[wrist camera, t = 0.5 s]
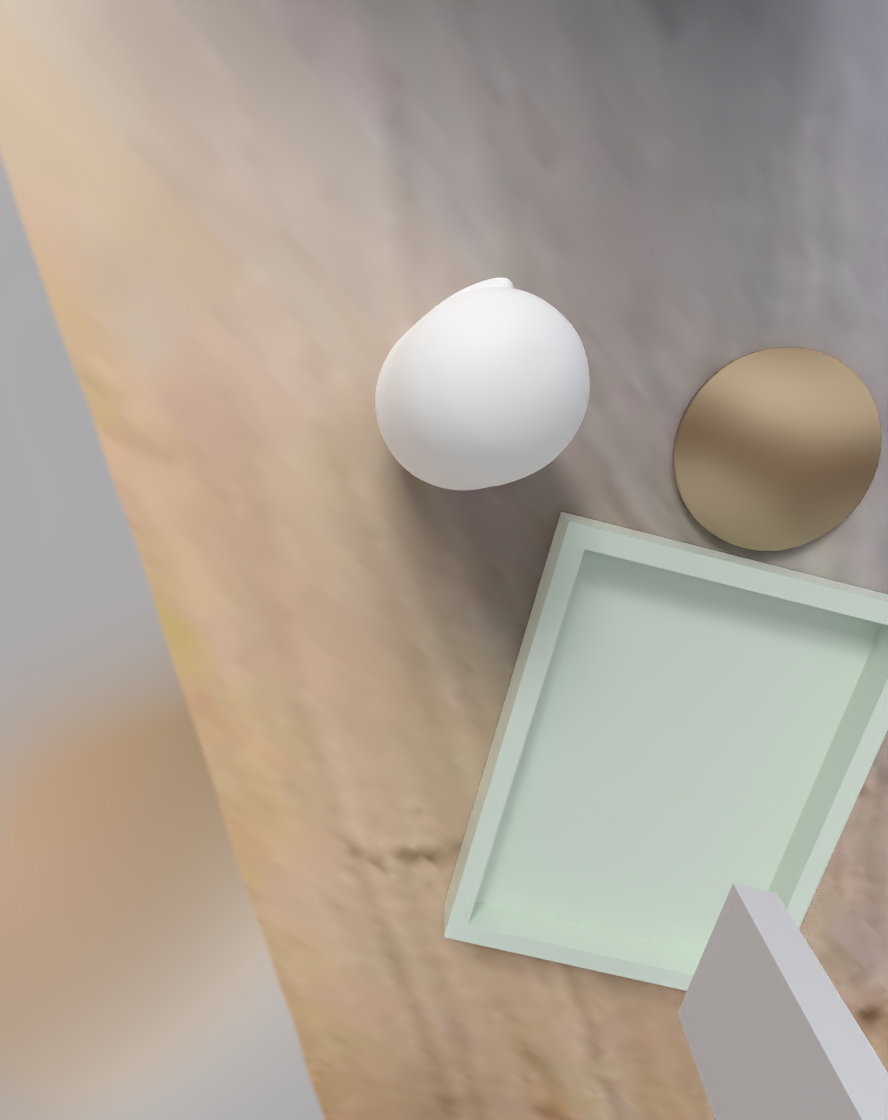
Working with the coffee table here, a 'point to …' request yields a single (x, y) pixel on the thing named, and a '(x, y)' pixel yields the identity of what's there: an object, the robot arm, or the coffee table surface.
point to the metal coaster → (777, 448)
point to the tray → (667, 751)
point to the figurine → (483, 388)
